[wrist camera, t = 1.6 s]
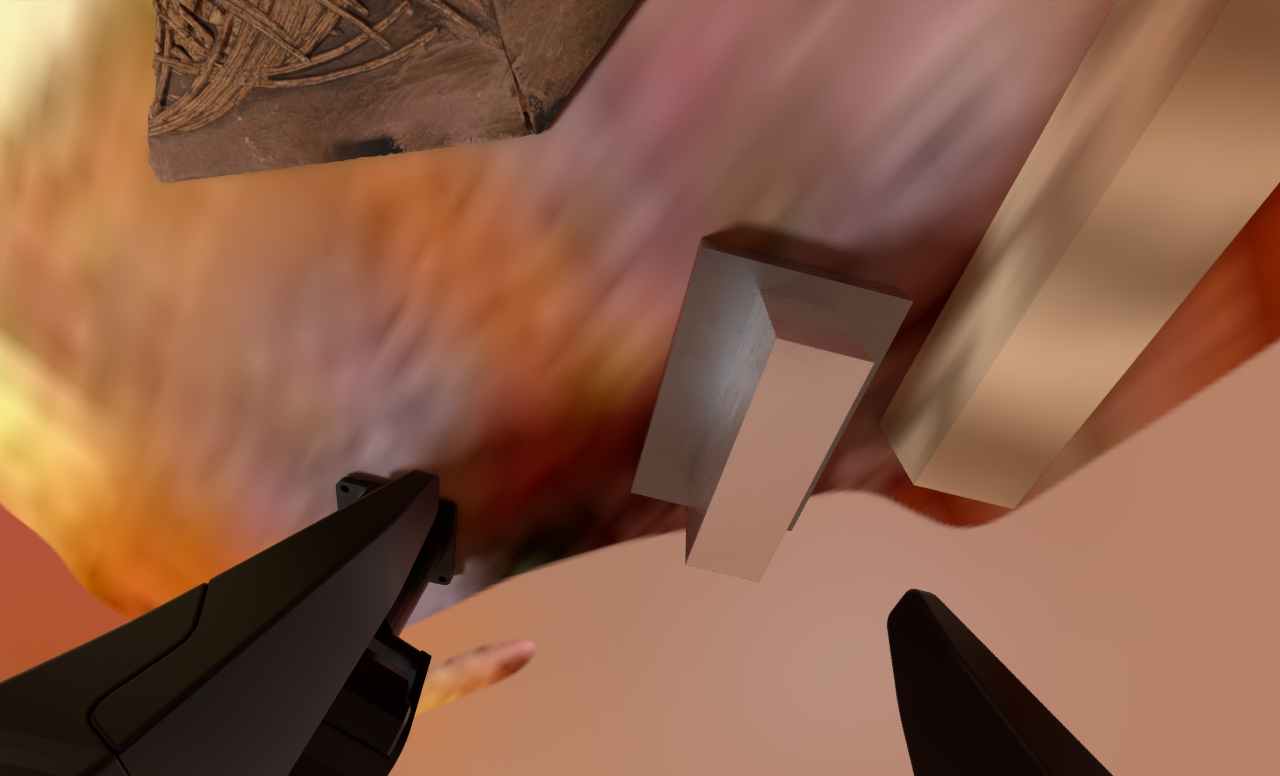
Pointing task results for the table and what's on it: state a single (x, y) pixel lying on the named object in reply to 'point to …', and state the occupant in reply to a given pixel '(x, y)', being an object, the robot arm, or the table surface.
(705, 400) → the balance ridge
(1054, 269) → the birch rod
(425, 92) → the wooden fragment
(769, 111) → the table surface
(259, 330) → the table surface
